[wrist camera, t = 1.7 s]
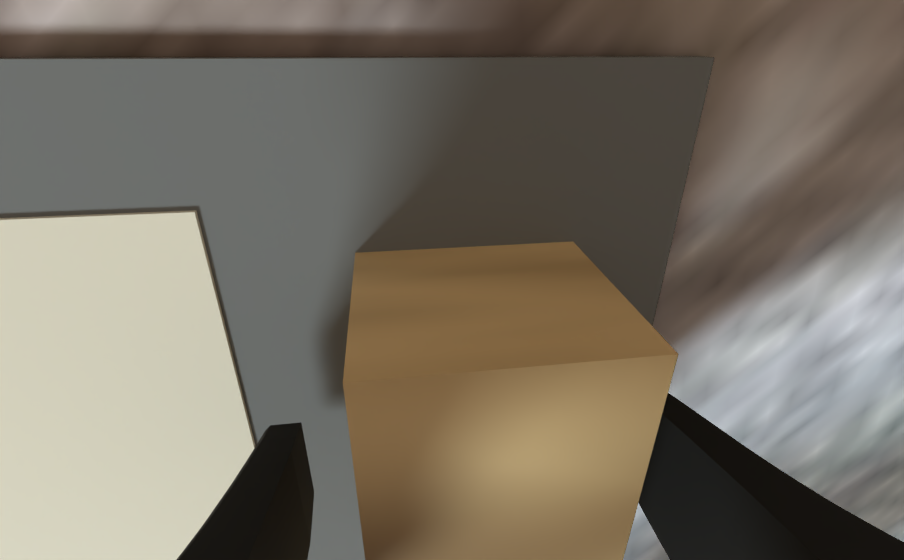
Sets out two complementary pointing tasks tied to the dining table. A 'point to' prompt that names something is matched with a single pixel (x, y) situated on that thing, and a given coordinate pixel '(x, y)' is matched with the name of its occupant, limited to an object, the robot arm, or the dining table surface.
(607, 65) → the mat
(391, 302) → the pine block
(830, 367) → the dining table surface
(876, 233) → the dining table surface
